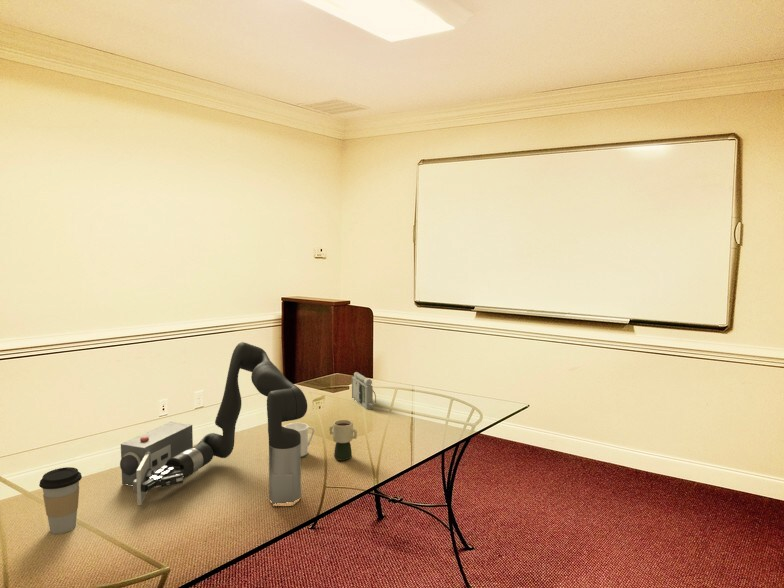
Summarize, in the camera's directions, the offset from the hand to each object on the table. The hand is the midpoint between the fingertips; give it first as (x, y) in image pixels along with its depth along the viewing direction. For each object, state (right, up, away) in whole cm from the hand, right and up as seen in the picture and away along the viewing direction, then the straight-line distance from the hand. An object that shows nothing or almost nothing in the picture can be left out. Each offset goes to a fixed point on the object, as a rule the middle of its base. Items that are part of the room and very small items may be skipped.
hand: (142, 488), depth 147 cm
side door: (-3, -4, +7) cm, 9 cm away
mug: (+37, -3, +42) cm, 56 cm away
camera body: (-7, -4, +24) cm, 25 cm away
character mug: (+53, -4, +39) cm, 66 cm away
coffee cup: (-17, -7, -9) cm, 20 cm away
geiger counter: (+57, +2, +102) cm, 117 cm away
